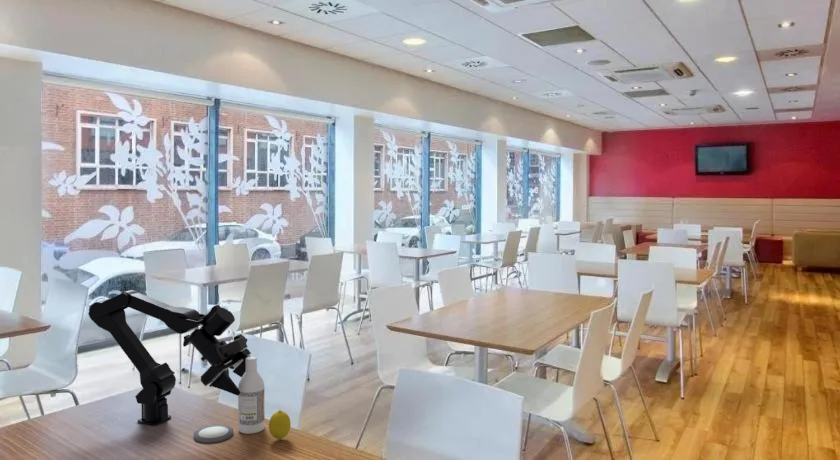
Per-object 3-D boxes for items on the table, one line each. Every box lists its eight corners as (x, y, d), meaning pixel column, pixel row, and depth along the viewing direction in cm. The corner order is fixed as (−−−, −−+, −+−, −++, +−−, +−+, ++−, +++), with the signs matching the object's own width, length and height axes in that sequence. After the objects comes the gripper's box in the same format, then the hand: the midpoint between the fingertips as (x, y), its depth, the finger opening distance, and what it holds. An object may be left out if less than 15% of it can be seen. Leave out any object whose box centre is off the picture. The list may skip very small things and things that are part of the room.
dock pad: (185, 439, 158) (185, 436, 158) (210, 425, 168) (210, 422, 168) (216, 445, 155) (216, 442, 155) (240, 431, 164) (240, 427, 164)
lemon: (285, 445, 156) (285, 415, 155) (265, 443, 157) (265, 413, 156) (293, 436, 161) (294, 407, 160) (274, 434, 162) (274, 405, 162)
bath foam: (266, 432, 164) (266, 359, 162) (240, 436, 161) (240, 362, 159) (261, 422, 170) (261, 353, 169) (236, 426, 167) (235, 356, 166)
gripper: (210, 335, 155) (251, 380, 154) (244, 320, 174) (280, 359, 173) (183, 363, 157) (223, 408, 156) (219, 345, 176) (255, 385, 174)
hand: (247, 388), depth 165 cm, fingers open, 9 cm apart
